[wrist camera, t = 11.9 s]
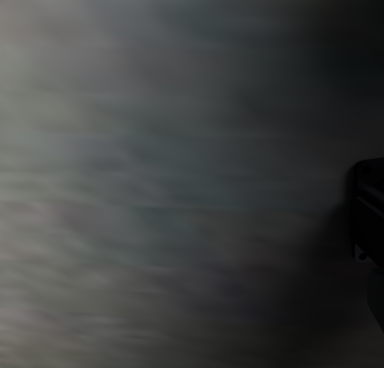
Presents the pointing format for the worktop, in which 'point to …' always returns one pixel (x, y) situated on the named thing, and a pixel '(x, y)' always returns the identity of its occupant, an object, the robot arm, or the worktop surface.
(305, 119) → the worktop surface
